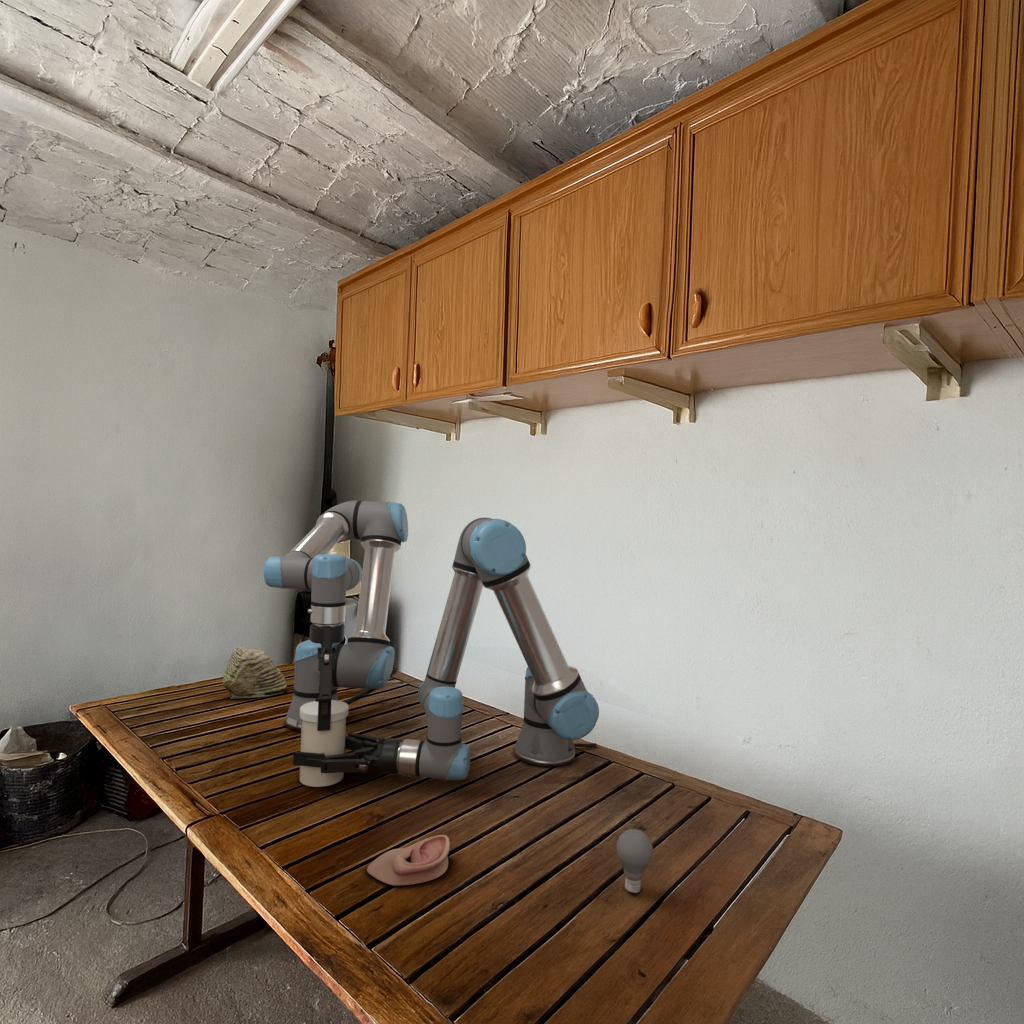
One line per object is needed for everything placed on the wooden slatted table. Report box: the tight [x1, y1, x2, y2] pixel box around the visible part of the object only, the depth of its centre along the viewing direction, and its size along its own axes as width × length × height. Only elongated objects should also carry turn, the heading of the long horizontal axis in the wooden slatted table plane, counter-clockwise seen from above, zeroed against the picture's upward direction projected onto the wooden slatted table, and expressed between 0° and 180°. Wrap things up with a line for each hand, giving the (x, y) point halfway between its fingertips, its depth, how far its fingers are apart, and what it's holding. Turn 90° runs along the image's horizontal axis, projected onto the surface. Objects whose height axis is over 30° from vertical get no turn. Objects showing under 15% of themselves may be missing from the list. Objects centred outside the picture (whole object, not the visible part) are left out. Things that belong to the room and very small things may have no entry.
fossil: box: [222, 646, 288, 699], centre depth 198 cm, size 9×18×15 cm, turn 132°
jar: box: [298, 717, 347, 788], centre depth 143 cm, size 10×10×16 cm
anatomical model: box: [366, 834, 451, 886], centre depth 109 cm, size 13×4×12 cm
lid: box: [300, 700, 349, 723], centre depth 143 cm, size 10×10×2 cm
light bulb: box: [615, 828, 654, 894], centre depth 106 cm, size 6×6×10 cm
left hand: (323, 721), depth 143 cm, fingers closed on lid, 10 cm apart
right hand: (304, 748), depth 143 cm, fingers closed on jar, 10 cm apart
